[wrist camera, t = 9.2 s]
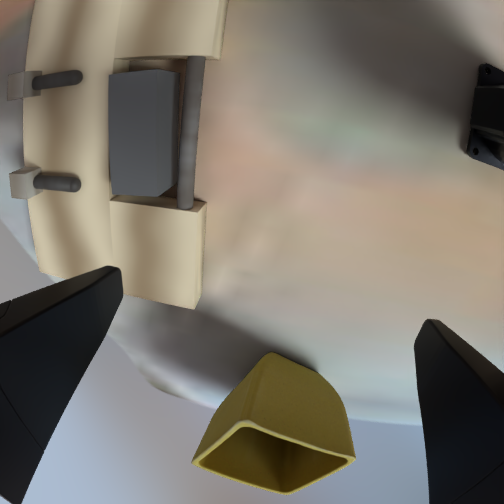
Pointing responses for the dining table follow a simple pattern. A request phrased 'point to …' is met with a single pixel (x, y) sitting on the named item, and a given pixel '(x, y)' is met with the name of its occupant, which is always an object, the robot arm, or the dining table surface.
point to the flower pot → (278, 429)
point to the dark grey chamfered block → (143, 131)
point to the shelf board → (97, 142)
